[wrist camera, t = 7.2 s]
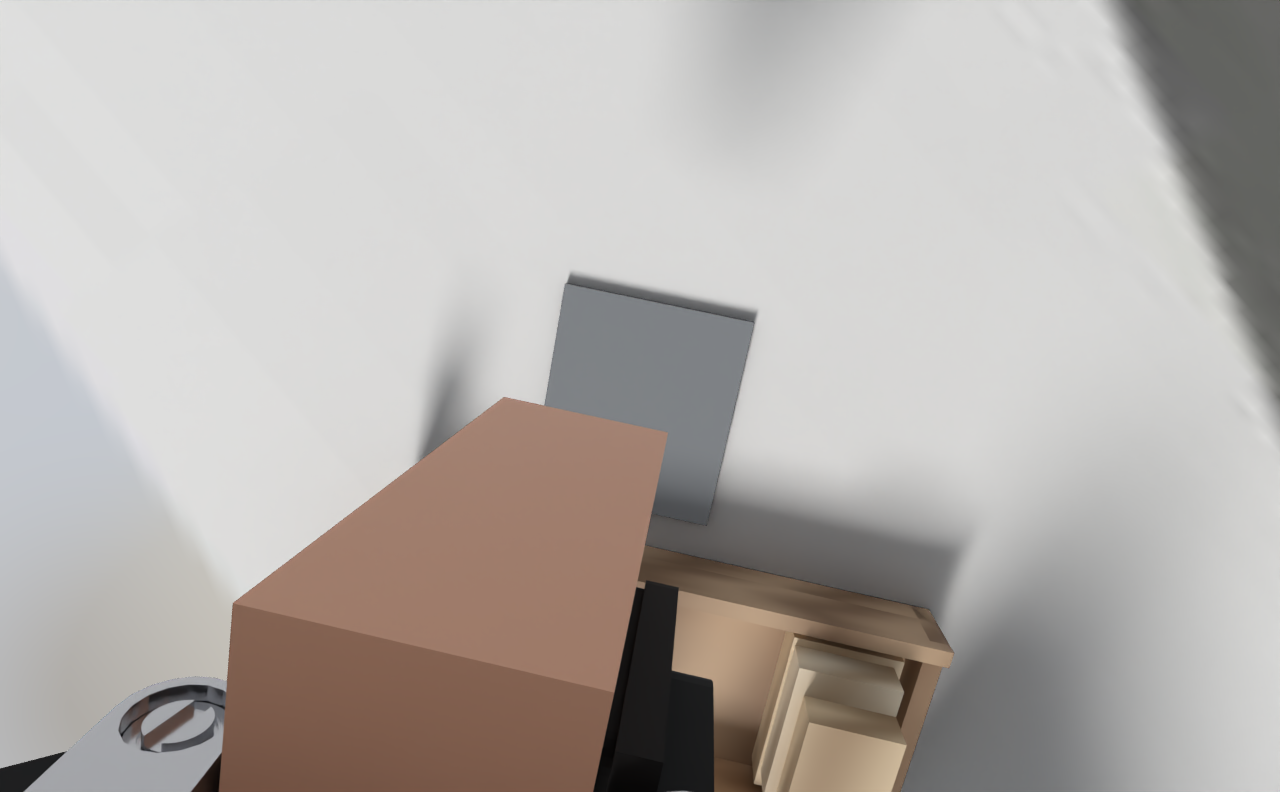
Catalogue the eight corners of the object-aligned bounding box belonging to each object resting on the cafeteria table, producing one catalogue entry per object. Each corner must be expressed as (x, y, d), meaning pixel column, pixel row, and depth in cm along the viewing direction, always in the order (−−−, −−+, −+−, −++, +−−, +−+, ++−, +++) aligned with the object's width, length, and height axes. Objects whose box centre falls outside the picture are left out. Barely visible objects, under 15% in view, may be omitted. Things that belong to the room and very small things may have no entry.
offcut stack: (894, 639, 27) (927, 713, 23) (850, 779, 29) (873, 872, 24) (789, 615, 27) (804, 684, 23) (751, 756, 29) (758, 844, 25)
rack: (929, 609, 28) (986, 709, 22) (870, 790, 30) (908, 925, 24) (409, 492, 29) (331, 557, 23) (386, 673, 31) (309, 775, 25)
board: (668, 432, 13) (614, 691, 5) (601, 744, 14) (487, 1281, 7) (503, 397, 13) (233, 601, 5) (454, 708, 14) (188, 1198, 7)
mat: (753, 321, 26) (754, 323, 26) (706, 522, 28) (706, 525, 28) (566, 283, 26) (565, 283, 26) (532, 483, 28) (530, 486, 28)
